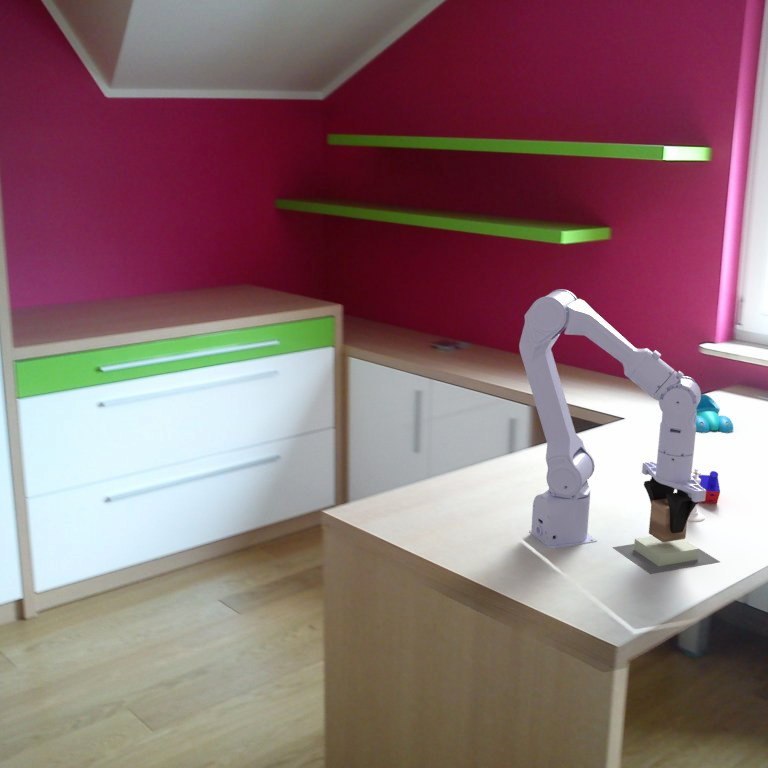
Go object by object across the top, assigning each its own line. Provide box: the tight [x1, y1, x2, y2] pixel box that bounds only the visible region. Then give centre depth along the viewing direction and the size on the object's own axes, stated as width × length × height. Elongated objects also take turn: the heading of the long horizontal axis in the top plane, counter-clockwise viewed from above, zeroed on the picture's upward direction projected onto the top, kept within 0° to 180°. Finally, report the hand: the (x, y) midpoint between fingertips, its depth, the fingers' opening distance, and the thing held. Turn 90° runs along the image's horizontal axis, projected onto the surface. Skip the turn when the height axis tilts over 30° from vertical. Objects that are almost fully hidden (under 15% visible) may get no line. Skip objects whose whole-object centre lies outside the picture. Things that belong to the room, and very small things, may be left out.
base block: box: [633, 535, 700, 566], centre depth 169 cm, size 8×7×2 cm
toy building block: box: [697, 470, 721, 505], centre depth 194 cm, size 4×4×8 cm
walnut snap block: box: [648, 498, 688, 542], centre depth 167 cm, size 4×4×6 cm
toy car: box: [695, 393, 734, 434], centre depth 246 cm, size 11×18×7 cm, turn 2°
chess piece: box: [687, 468, 706, 523], centre depth 184 cm, size 5×5×10 cm
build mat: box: [612, 543, 721, 575], centre depth 169 cm, size 14×11×1 cm
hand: (668, 526), depth 168 cm, fingers closed on walnut snap block, 4 cm apart
